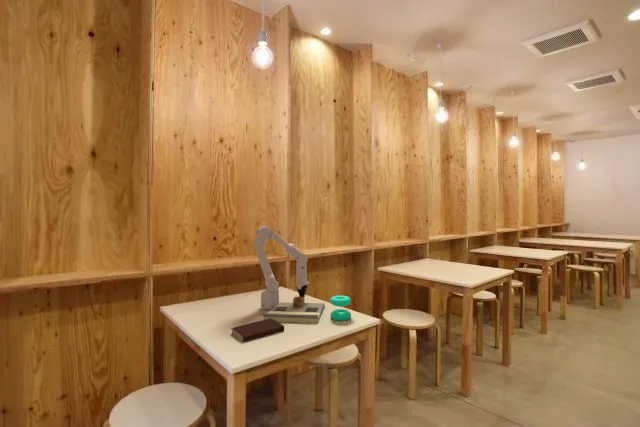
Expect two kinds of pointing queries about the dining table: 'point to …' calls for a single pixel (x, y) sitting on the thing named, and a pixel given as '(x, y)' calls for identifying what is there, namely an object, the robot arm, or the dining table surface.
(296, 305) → the block
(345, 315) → the donuts
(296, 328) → the dining table surface
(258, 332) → the book
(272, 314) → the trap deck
